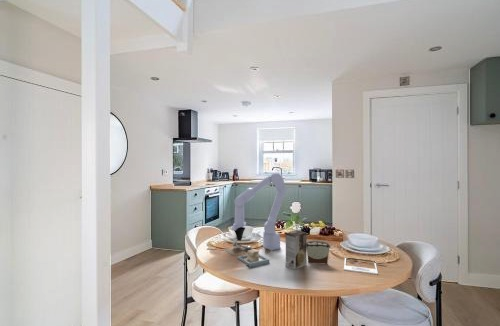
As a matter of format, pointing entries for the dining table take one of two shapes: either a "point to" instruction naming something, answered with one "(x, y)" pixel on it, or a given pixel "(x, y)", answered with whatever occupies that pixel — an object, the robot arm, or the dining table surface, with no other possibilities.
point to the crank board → (237, 250)
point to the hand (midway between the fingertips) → (239, 240)
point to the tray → (254, 264)
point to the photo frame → (360, 269)
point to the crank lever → (240, 245)
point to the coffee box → (296, 249)
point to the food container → (317, 252)
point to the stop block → (253, 255)
